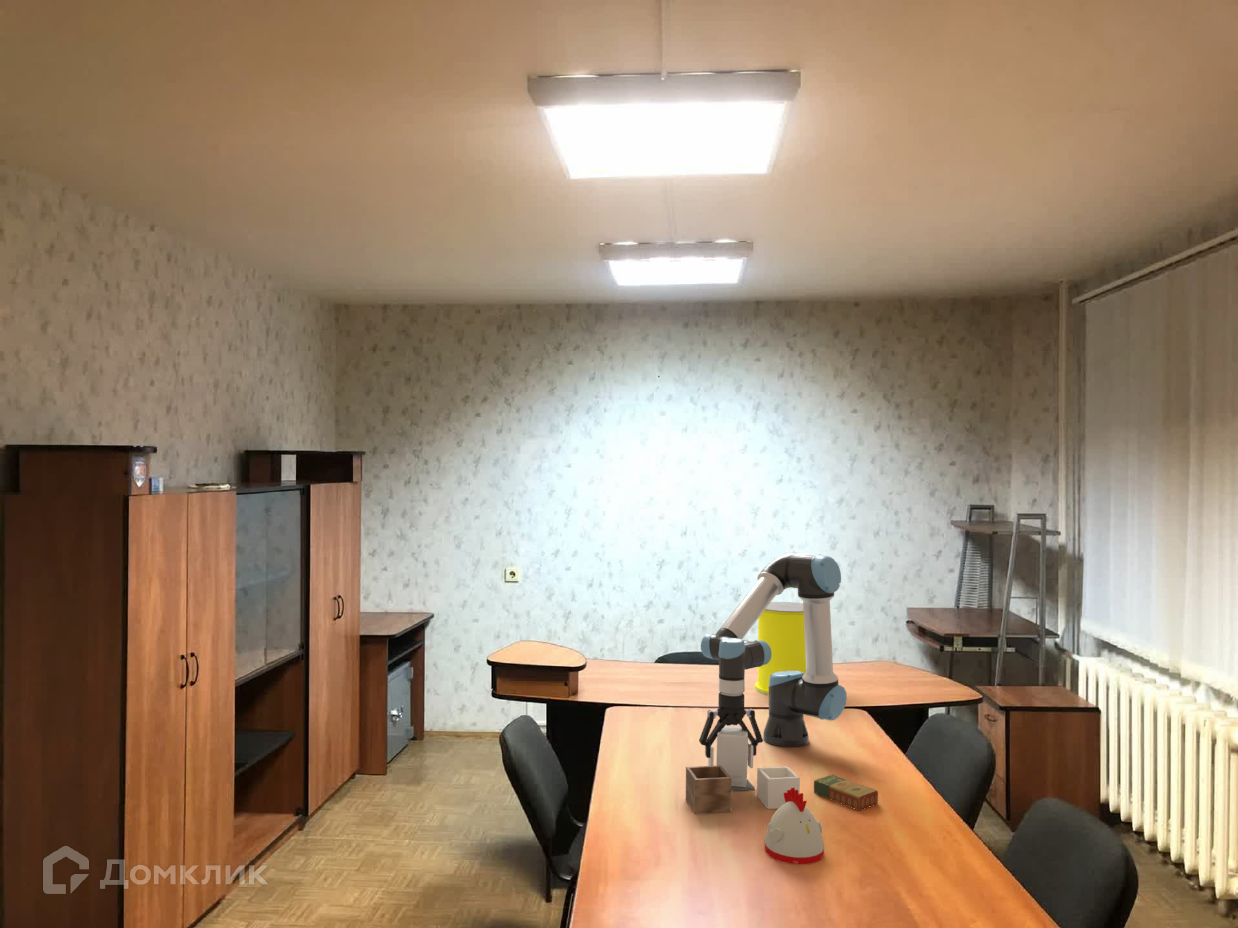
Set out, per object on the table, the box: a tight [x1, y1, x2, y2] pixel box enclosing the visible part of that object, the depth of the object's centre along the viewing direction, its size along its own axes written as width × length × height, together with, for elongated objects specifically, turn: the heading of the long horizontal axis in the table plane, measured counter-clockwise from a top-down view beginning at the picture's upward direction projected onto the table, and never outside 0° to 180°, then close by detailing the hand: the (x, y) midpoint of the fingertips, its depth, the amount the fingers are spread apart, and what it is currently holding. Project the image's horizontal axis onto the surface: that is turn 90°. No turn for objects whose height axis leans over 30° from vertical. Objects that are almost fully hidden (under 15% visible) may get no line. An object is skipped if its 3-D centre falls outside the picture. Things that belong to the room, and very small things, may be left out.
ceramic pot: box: [756, 766, 801, 810], centre depth 235 cm, size 9×9×8 cm
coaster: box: [731, 779, 756, 792], centre depth 248 cm, size 11×11×1 cm
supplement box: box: [715, 725, 749, 788], centre depth 248 cm, size 9×9×15 cm
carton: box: [813, 774, 879, 811], centre depth 238 cm, size 8×16×4 cm, turn 36°
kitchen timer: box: [764, 788, 825, 865], centre depth 204 cm, size 14×14×15 cm
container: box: [754, 601, 806, 696], centre depth 359 cm, size 26×26×35 cm
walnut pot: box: [685, 765, 732, 815], centre depth 232 cm, size 10×10×9 cm
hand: (730, 767), depth 248 cm, fingers open, 11 cm apart
